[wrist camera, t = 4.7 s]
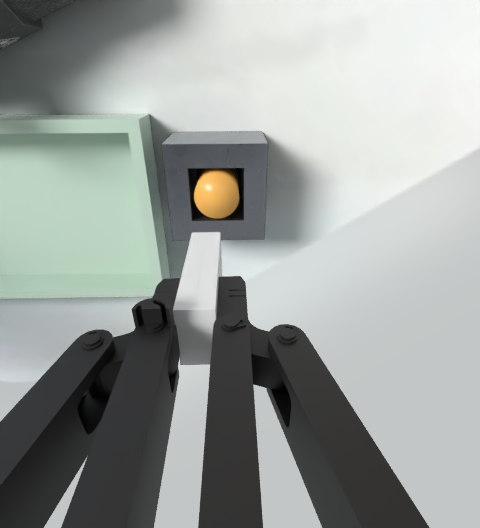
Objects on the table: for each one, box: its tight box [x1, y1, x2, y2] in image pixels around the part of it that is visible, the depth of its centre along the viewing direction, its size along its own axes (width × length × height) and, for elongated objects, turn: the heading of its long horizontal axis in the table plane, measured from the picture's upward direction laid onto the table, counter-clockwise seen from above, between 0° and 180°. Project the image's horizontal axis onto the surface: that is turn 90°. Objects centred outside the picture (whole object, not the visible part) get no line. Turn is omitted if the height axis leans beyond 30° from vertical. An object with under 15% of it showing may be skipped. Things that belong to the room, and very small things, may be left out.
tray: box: [0, 114, 170, 299], centre depth 31 cm, size 27×17×4 cm, turn 90°
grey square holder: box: [161, 131, 268, 240], centre depth 29 cm, size 8×8×6 cm
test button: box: [194, 168, 239, 218], centre depth 28 cm, size 4×4×5 cm
